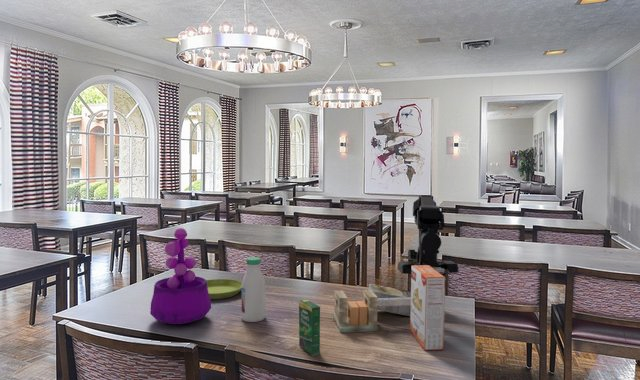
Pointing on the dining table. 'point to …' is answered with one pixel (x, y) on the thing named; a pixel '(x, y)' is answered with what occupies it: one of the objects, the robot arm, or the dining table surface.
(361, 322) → the block
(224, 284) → the saucer
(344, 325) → the frame
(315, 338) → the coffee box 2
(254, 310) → the milk bottle
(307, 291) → the dining table surface
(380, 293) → the coffee box
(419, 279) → the cracker box
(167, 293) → the decorative plant
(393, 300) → the shaft
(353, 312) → the block
